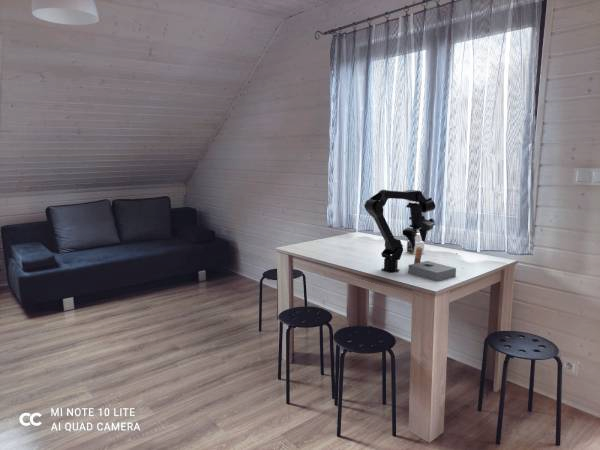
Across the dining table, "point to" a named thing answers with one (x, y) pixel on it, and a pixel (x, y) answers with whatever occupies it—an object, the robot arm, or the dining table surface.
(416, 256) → the terracotta peg
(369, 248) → the dining table surface
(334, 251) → the dining table surface
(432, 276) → the hole block
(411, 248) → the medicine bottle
